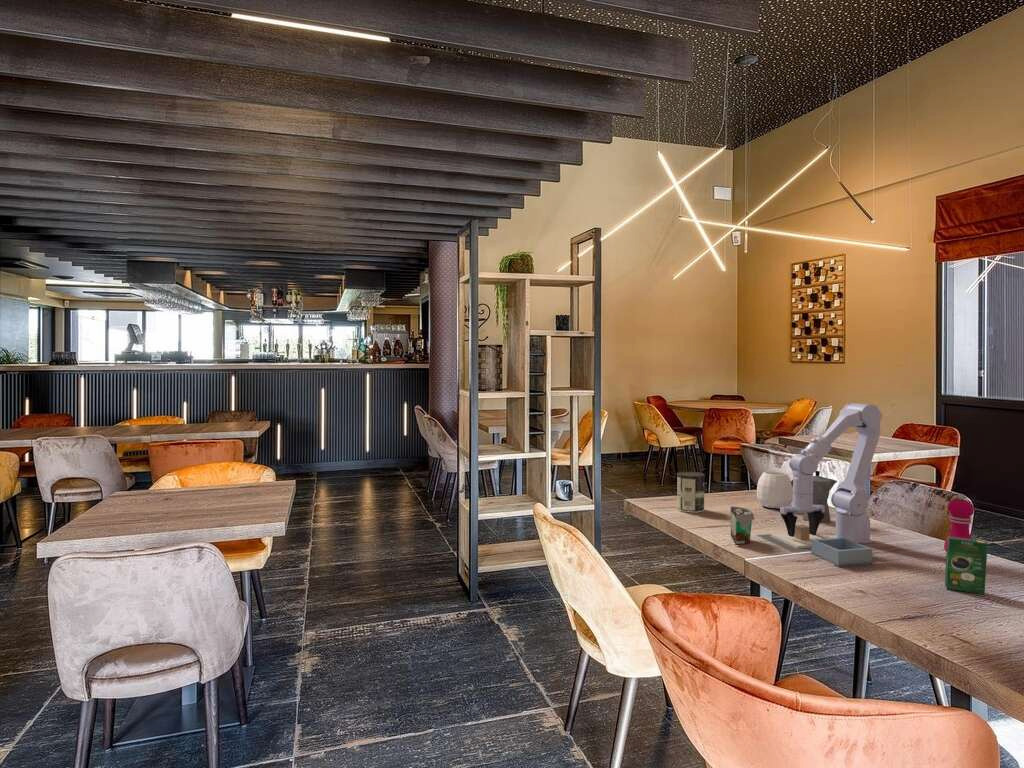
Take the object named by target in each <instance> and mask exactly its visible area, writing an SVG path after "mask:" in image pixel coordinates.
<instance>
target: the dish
mask: <svg viewBox="0 0 1024 768" xmlns="http://www.w3.org/2000/svg"><path fill="white" fill-rule="evenodd" d="M873 549H874V548H871V547H869V546H867V545H864V544H862V543H856V542H854V541H851V540H849V539H846V538H827V539H817V540H812V545H811V551H810V552H811V553H810V554H811V555H813V556H815V557H818V558H820V559H822V560H824V561H827V562H829V563H831V564H833V565H834V567H837V568H845V567H858V566H859V565H860V566H869V565H873V553H874V552H873Z"/></svg>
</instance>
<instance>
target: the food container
mask: <svg viewBox="0 0 1024 768" xmlns="http://www.w3.org/2000/svg"><path fill="white" fill-rule="evenodd" d="M753 521H755V516H754V513H753V511H752V510H751V509H749V508H746V507H739V506H730V537H731V538H732V541H733V542H734V543H735V544H734V543H733V544H734V546H735V545H740V546H742V545H743V546H744V545H748V544H750V542H751V532H752V524H753V523H752V522H753Z"/></svg>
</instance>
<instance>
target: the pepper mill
mask: <svg viewBox="0 0 1024 768" xmlns="http://www.w3.org/2000/svg"><path fill="white" fill-rule="evenodd" d="M947 511H948V512H949V514H950V515H949V521H950V522H951V523H950V525H951V527H950V531H949V534H948V535H947V538H945V541H944V544H943V549H944V551H945V552H946V553H947V539H948V536H951V537H958V538H966V539H972V536H971V532H970V525H971V524H972V517H971V516H972V515H974V513H975V507H974V505H973V504H972V503H971V502H970V501H968V500H966V496H965V494H963V493H959V494H957V496H956V498H955V499H952V500H950V501H949V502H948V504H947Z"/></svg>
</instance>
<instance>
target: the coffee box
mask: <svg viewBox="0 0 1024 768" xmlns="http://www.w3.org/2000/svg"><path fill="white" fill-rule="evenodd" d="M947 537H948V539H947V538H946V539H947V552H946V555H945V569H944V570H945V571H944V587H945V586H946V587H945V589H946V588H947V589H946V590H951V589H952V590H951V591H955V590H960V591H959V592H964V591H966V593H972V594H975V593H976V595H977V594H978V595H985V594H986V593H985V592H986V579H987V577H986V575H987V559H988V543H987V541H986V540H980V539H966V538H958V537H951V536H948V535H947Z"/></svg>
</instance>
